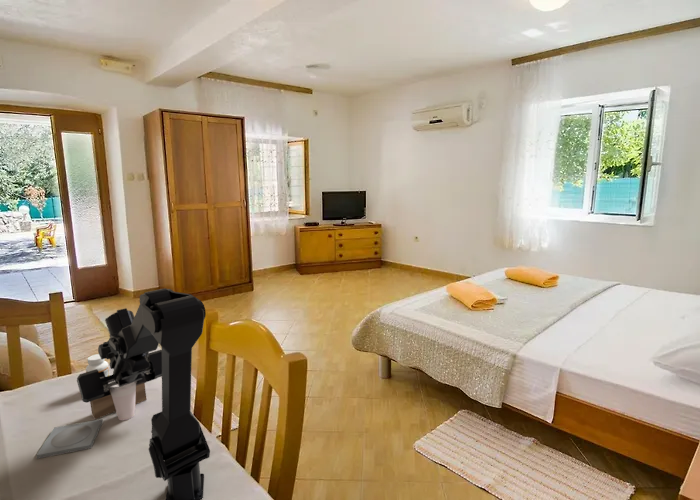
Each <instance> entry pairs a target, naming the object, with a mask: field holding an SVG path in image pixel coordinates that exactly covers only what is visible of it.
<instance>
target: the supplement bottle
mask: <svg viewBox="0 0 700 500" xmlns="http://www.w3.org/2000/svg"><path fill="white" fill-rule="evenodd" d="M85 367H86V368H85V373H86V372H89V371H92V370H96V369H97V370H98V372H103V371H104V374H105V377H107V376H110V375H111V373H110V365H109V362H108V361H106V358H105V359H101V357H100V355H99V353H97V354H96V353H95V354H92V355H90V356H89V357H87V365H86V366H85Z"/></svg>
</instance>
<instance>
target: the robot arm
mask: <svg viewBox="0 0 700 500" xmlns="http://www.w3.org/2000/svg"><path fill="white" fill-rule="evenodd" d="M206 316H207V315H206V308H205V305H204V303H203V301H202V300H201V299H199V298H197V297H196V296H194V295H193V294H191V293H184V292H179V291H174V290H173V289H171V288H160V289H156V290H155V289H154V290H150V291H146V292H145V291H144V293H142V294H140V295H139V305H138V307H137V310H136V313H135V315H134V312H133V311H131V310H128V308H126V307H125V308H121V309H117V310H116V312H114V313H112V314H110V315H109V316H107V317H106V318H105V320H104V321H105V324H106V328H107V331H108V333H109V338H108V340H107V341H104V342H102V343H101V344H99V345H98V349H97V351H98V353H97V354H99V355H100V357H101V359H105V360H109V363H108V365H109V369H110V370H113V371H112V374H110V376H107V377H105V374H104V371H103V372H98V370H97V369H96V370H92V371H89V372H86V371H85V372H82V373H80V374H79V375H78V376H77V378H76V383H77V386H78V390H79V392H80V393H79V394H80V397H81V400H82V403H85V404H86V403H90V401H93V400H96V399H100V398H103V397H106V396H108V395H111V392H110V389H109V387H111V386H114V385H117V384H119V387H121V386H124V385H127V384H130V383H133V382H136V381H137V383H136V385H138V384H141V383H145V382H146V383H147V382H151V381H154V380H157V379H158V378H161V410H162V411H160V412H157V413H154V414H153V415H152V417H151V420H150V421H151V431H150V432H151V438H149V444H148V446H149V447H148V452H149V456H150V458H151V459H150V460H151V462H152V466H153V469H154V477H155V478H158V479H161V478H162V481H164V482H166V481H167V482H166V483H167V488H166V490H167V491H166V495H165V500H200V499H202V498H203V499H204V486H205V474H204V473H201V467H200V466H201V465H200V463H201V462H203V461H204V460H207V459H208V458H210V455H211V450H210V447H209V443H208V442H207V439H206V437H205V435H204V432H203V429H202V427H201V424H200V422H199V421H198V419H197V418H196V417H195V415H194V414H193V412H192V411H191V409H192V408H191V407H192V405H191V402H192V359H193V357H192V355H193V350H192V349H193V347H194V346H195V344H196V343H197V342H198V340H199V339H200V337H201V336H202V334H203V331H204V330H203V329H204V324H205V318H206ZM159 345H160V347H161V349H158V347H159ZM157 349H158V350H157ZM110 382H111V383H110ZM146 383H145V384H146ZM203 499H202V500H203Z"/></svg>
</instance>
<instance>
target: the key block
mask: <svg viewBox="0 0 700 500" xmlns="http://www.w3.org/2000/svg"><path fill="white" fill-rule="evenodd" d="M146 383H147V382H145V383H141V384H138V385H136V397H135V405H137V404H140V403H142V402H145V401H147V393H146V391H147V390H146ZM89 403H90V410H91V415H92V418H93V419H94V420H99V419H101V418H103V417H105V416H107V415H111V414H113V413H115V412H116V409H115V405H114V402H113V399H112V395H108V396H106V397H103V398H100V399H96V400H93V401H90V402H89ZM116 413H117V412H116Z"/></svg>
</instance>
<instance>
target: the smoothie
mask: <svg viewBox="0 0 700 500" xmlns="http://www.w3.org/2000/svg"><path fill="white" fill-rule="evenodd" d="M110 383H111V382H110ZM136 383H137V381H136V382H133V383H130V384H127V385H124V386H121V387H119V384H117V385H114V386H111V387H109V389H110V392H111V395H112V399H113V402H114V405H115V409H116V415H117V419H118V420H120V421H127V420H131V419H132V418H133V417H134V416H135V415H136V404H135V397H136Z"/></svg>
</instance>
